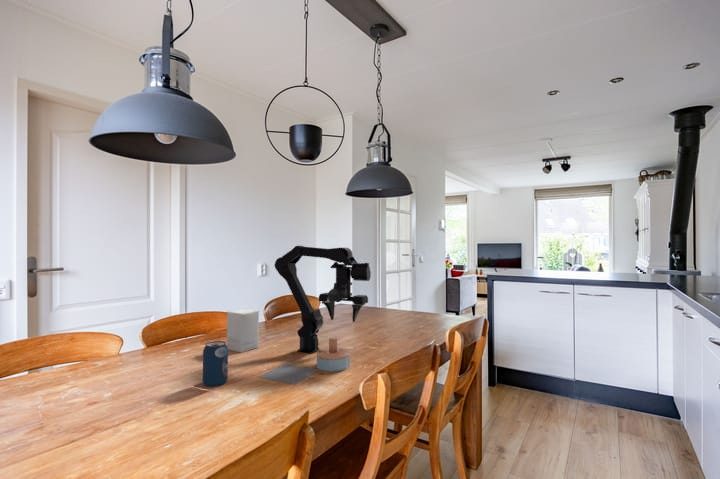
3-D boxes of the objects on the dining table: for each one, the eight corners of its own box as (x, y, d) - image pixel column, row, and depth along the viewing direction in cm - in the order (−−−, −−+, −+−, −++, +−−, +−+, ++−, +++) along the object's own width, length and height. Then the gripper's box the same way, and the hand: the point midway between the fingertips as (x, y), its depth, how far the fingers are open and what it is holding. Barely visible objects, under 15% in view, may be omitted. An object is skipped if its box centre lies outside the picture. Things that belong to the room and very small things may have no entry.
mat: (256, 378, 115) (256, 377, 115) (283, 365, 128) (283, 364, 128) (294, 385, 109) (294, 384, 109) (319, 371, 122) (319, 369, 122)
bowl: (310, 369, 124) (310, 357, 124) (326, 360, 134) (327, 348, 134) (340, 374, 119) (340, 361, 119) (354, 364, 129) (354, 352, 129)
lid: (310, 357, 124) (310, 340, 124) (326, 348, 134) (326, 333, 134) (340, 361, 119) (340, 344, 120) (354, 352, 129) (354, 336, 130)
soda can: (229, 385, 109) (230, 344, 109) (204, 390, 105) (204, 347, 106) (225, 378, 115) (226, 339, 115) (201, 382, 111) (201, 342, 112)
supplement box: (259, 347, 149) (259, 310, 150) (241, 353, 142) (241, 313, 142) (244, 344, 154) (244, 308, 154) (225, 349, 147) (226, 311, 147)
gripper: (311, 280, 139) (310, 322, 139) (356, 283, 131) (356, 327, 131) (325, 278, 149) (325, 317, 149) (368, 280, 141) (368, 321, 141)
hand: (342, 320), depth 142 cm, fingers open, 9 cm apart
